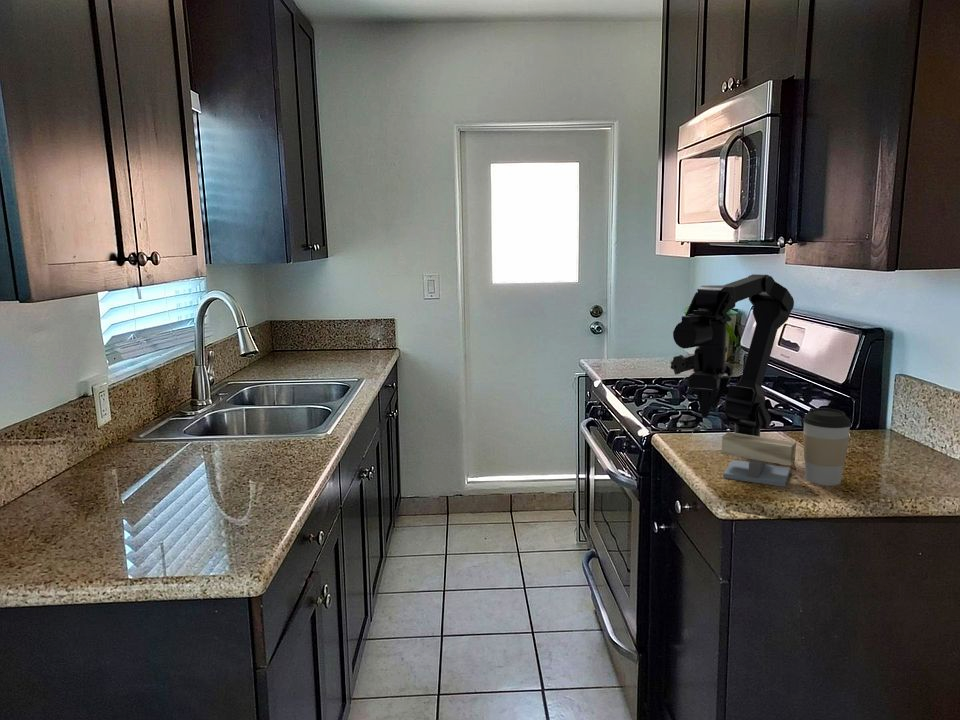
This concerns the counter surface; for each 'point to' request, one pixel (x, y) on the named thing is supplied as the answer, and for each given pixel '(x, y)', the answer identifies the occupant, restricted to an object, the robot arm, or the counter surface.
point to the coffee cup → (825, 445)
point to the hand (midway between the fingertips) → (709, 412)
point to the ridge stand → (757, 472)
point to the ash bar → (759, 448)
